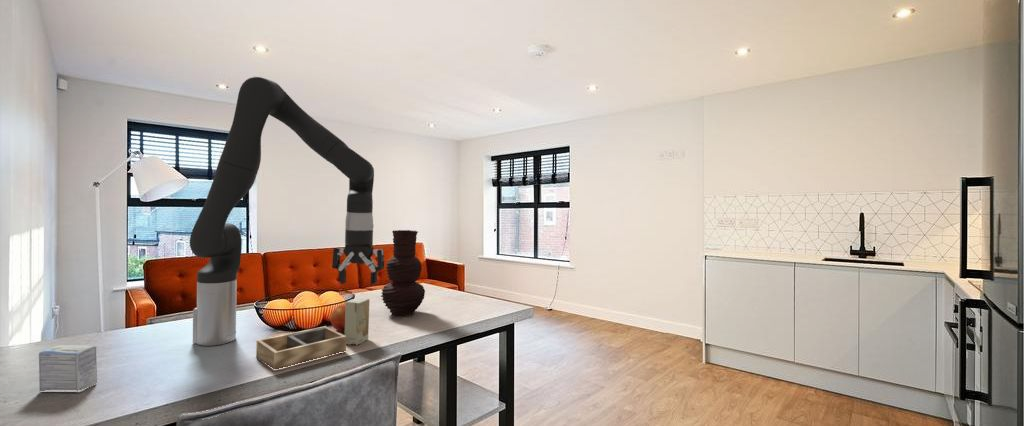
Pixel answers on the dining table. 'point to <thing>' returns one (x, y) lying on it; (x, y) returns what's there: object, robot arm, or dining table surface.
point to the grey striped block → (67, 367)
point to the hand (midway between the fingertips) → (358, 284)
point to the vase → (403, 276)
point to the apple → (338, 318)
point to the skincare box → (356, 320)
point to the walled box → (300, 347)
